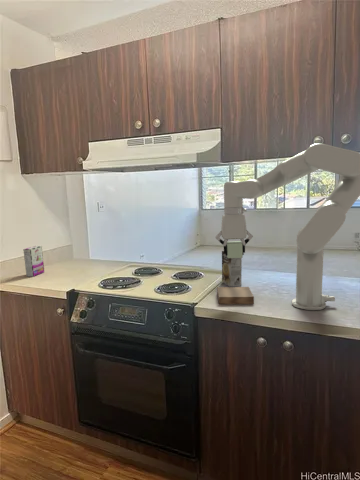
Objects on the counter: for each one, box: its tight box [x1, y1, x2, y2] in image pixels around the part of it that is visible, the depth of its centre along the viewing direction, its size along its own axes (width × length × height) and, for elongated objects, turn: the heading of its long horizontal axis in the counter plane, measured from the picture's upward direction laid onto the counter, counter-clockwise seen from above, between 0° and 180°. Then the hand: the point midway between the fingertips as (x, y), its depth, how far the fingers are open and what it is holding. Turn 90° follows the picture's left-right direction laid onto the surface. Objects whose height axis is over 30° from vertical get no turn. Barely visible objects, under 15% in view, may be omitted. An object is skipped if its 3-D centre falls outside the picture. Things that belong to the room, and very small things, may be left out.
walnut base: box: [216, 286, 255, 305], centre depth 140 cm, size 14×14×3 cm
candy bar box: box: [23, 245, 45, 278], centre depth 193 cm, size 11×5×16 cm, turn 170°
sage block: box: [227, 240, 244, 258], centre depth 137 cm, size 6×6×6 cm
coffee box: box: [221, 250, 243, 287], centre depth 161 cm, size 9×6×16 cm
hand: (234, 254), depth 137 cm, fingers closed on sage block, 6 cm apart
